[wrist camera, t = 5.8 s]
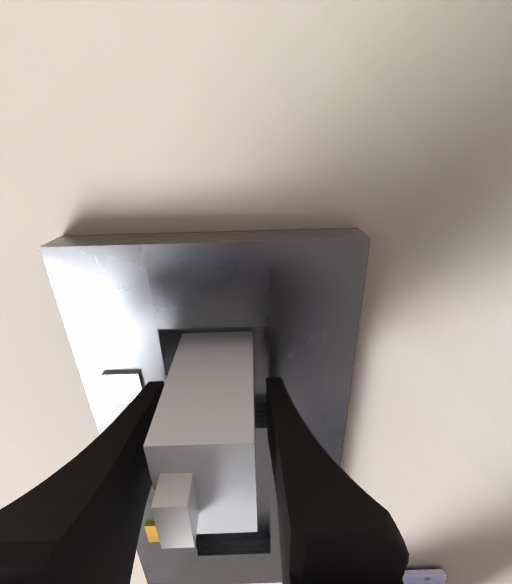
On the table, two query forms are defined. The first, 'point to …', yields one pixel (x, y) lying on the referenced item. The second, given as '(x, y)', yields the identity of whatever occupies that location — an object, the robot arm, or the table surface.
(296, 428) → the robot arm
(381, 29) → the table surface
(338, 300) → the panel
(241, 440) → the plug
